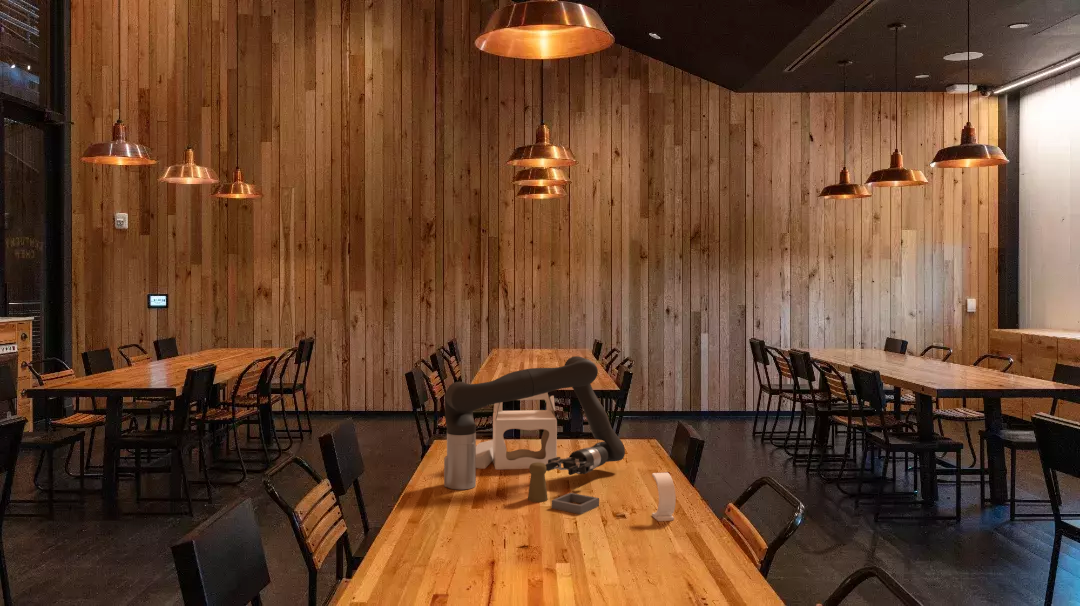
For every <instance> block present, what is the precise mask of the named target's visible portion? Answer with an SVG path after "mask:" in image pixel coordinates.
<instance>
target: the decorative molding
mask: <svg viewBox="0 0 1080 606" xmlns="http://www.w3.org/2000/svg"><path fill="white" fill-rule="evenodd" d="M504 442H505V440H504ZM505 443H506V442H505ZM492 462H493V439H490V440H487V441H481V442H479V443H478V444H476V469H486V468H487V467H489V466H490V464H491V463H492Z"/></svg>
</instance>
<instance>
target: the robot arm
mask: <svg viewBox="0 0 1080 606" xmlns="http://www.w3.org/2000/svg"><path fill="white" fill-rule="evenodd" d="M598 371H599V370H598V366H597V365H596V364H595V362H593V361H592V360H590V359H589V358H585V357H582V356H579V355H578V356H577V355H576V356H571V357H570V358H568V359H567V360H566V361H565V363H564V365H563V366H558V367H533V368H526V369H525V368H524V369H521V370H515V371H511V372H509V373H506V374H504V375H502V376H499V377H498V378H496V379H494V380H491V381H486V382H479V383H466V382H463V381H455V382H453V383H451V384H450V385H449V386H448V387H447V389H446V390H445V395H444V419H445V426H446V456H444V459H443V460H444V461H443V462H444V463H443V464H444V465H443V467H444V468H443V471H444V472H443V473H444V474H443V476H444V477H443V478H444V480H443V484H444V485H443V487H446V488H448V489H452V490H469V489H473V488H475V487H476V484H477V483H476V481H477V480H476V479H477V478H476V476H477V473H476V472H477V468H476V446H477V444H476V442H477V426H476V425H477V424H476V422H475V419H474V411H475V410H479V409H482V408H485V407H488V406H491V405H494V404H495V403H501V402H503V403H507V402H511V401H512V402H513V401H520V400H519V399H523V398H528V397H532V396H536V395H540V394H544V393H547V392H548V393H550V392H554V391H557V390H562V389H568V388H572V389H573V391H574V393H575V396H576V397H577V399H578V401H579V403H580V406H581V407H582V410H583V414H584V415H585V417H586V420H587V422H588V426H589V428H590V431H591V434H592V436H593V438H594V439H596V440H599V442H597V443H595V444H594V445H592V446H590V447H584V448H580V449H578V450H574V451H572V452H571V453H570V455H568V456H567V457H565V458H561V456H557V457H556V458H553V459H549V460H548V464H546V472H549V471H553V470H557V469H558V470H559V471H565V470H567V471H568V473H567V474H568V476H572V475H576V474H577V475H582V474H583V475H585V474H588V473H591V472H592V471H594V469H596V468H598V467H601V466H604V464H605V463H607V462H608V463H609V462H620V461H622V460H623V459H624V457H625V455H626V450H625V445H624V444H623V441H622V440H621V438H620V437H619V436H618V435H617V433H616V431H615V430H614V429H613V428H612V425H611V422H610V420H609V417H608V414H607V412H606V410H605V408H604V406H603V405H602V404H601V402H600V400H599V399H598V396H597V395H596V393H595V391H594V390H593V387H592V385H591V384H592V383H593V382H594V381H595V380H596V379H597V377H598V373H599V372H598ZM600 440H601V441H600ZM555 466H557V467H555Z"/></svg>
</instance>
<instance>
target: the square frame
mask: <svg viewBox="0 0 1080 606" xmlns="http://www.w3.org/2000/svg"><path fill="white" fill-rule="evenodd" d="M599 506H600V498H599V497H596V496H595V497H594V496H590V495H584V494H579V493H574V492H568V493H566V494H564V495H561V496H559V497H557V498H554V499H552V500H551V509H554V510H559V511H563V512H568V513H573V514H578V515H583V514H585V513H587V512H589V511H591V510H593V509H596V508H598V507H599Z"/></svg>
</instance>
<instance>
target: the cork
mask: <svg viewBox="0 0 1080 606" xmlns="http://www.w3.org/2000/svg"><path fill="white" fill-rule="evenodd" d="M528 470H529V471H528V472H529V473H530V480H529V485H528V487H529V488H528V496H527V500H528V501H529V502H533V503H545V502H547V501H548V499H549V498H548V492H547V491H548V490H547V483H546V475H545V474H546V472H547V471H546V465H545V464H544V463H540V462H536V463H532V464H531V465H530V467H529V469H528Z"/></svg>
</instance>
